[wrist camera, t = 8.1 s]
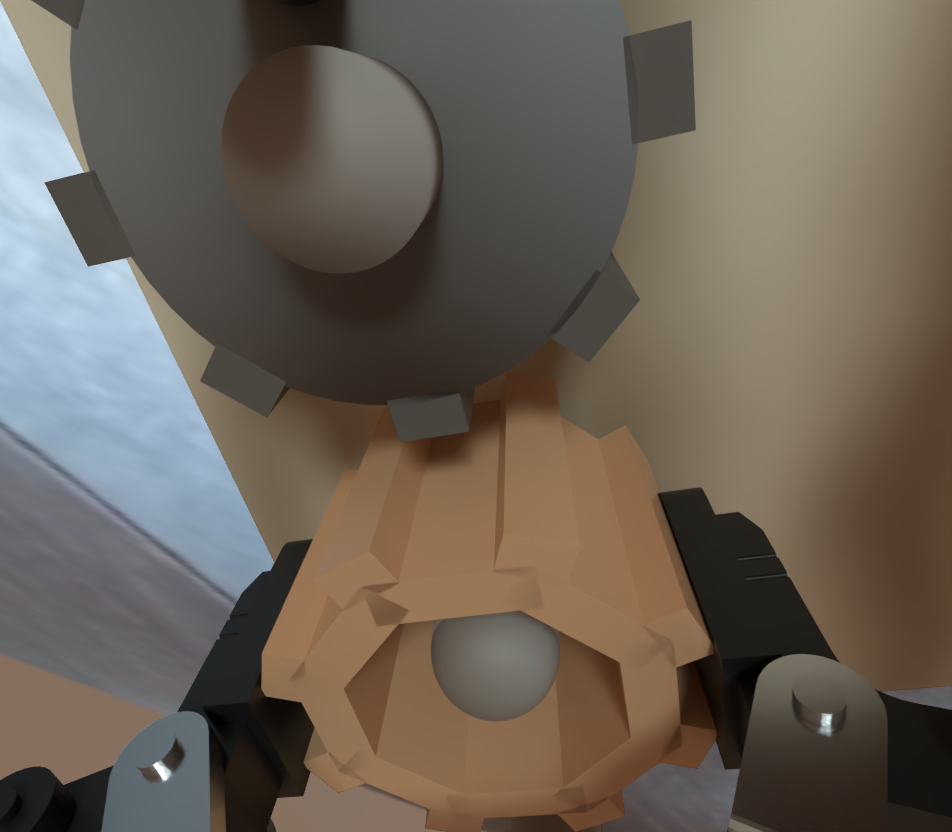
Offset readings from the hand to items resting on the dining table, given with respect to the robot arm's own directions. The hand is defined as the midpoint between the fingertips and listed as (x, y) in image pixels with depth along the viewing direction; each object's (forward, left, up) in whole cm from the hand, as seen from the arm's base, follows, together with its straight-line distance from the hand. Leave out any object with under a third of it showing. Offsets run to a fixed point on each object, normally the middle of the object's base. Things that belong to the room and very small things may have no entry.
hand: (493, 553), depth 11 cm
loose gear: (0, 0, -1) cm, 1 cm away
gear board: (-3, -1, -4) cm, 5 cm away
